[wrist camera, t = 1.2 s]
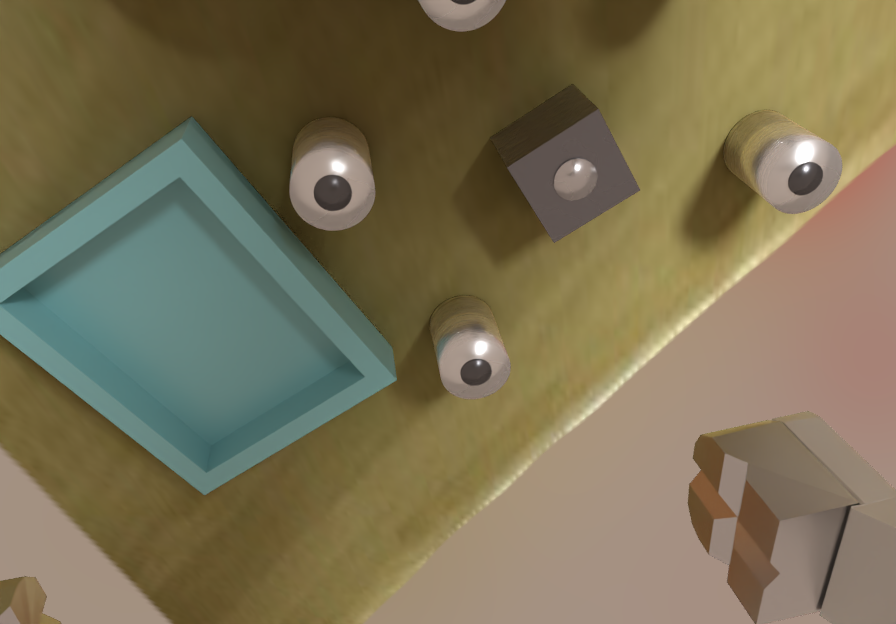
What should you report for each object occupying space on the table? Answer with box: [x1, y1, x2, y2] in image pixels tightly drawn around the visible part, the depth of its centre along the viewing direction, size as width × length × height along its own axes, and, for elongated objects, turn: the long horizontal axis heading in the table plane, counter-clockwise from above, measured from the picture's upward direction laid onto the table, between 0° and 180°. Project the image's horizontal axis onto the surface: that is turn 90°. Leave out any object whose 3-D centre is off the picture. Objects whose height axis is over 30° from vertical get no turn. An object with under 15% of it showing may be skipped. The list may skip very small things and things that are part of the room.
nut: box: [490, 84, 640, 243], centre depth 35 cm, size 5×5×4 cm
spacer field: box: [289, 0, 842, 399], centre depth 34 cm, size 22×20×5 cm
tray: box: [0, 116, 397, 495], centre depth 38 cm, size 13×16×3 cm
